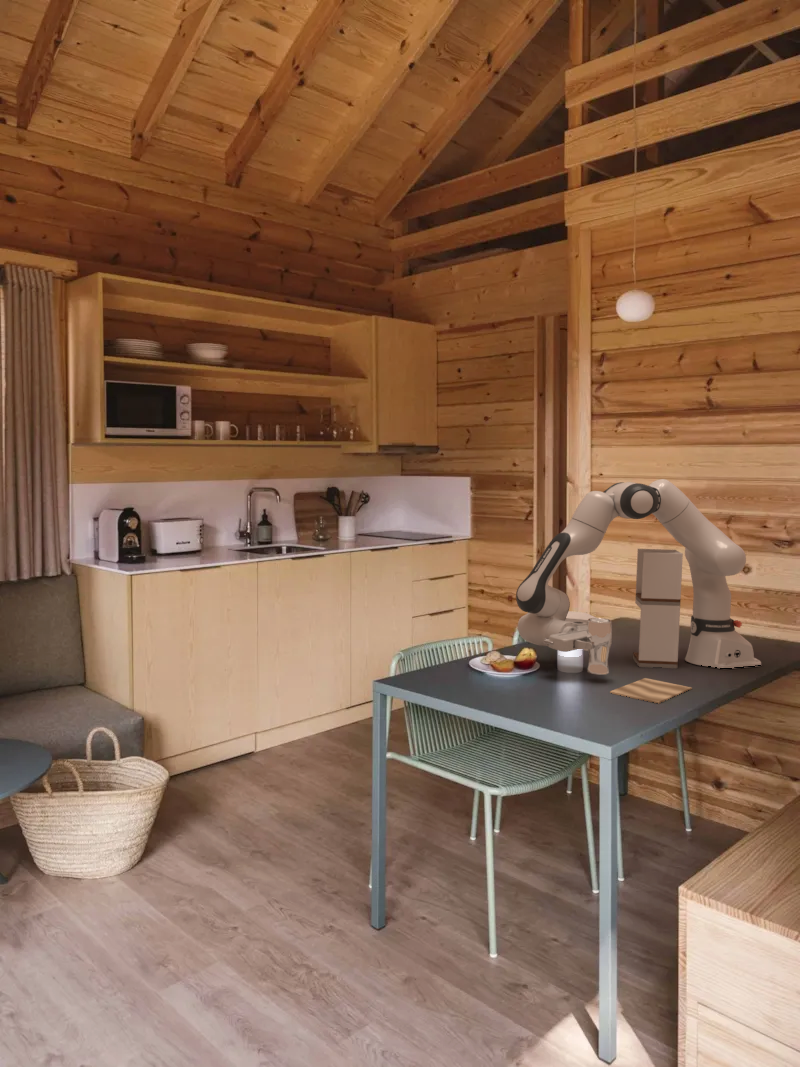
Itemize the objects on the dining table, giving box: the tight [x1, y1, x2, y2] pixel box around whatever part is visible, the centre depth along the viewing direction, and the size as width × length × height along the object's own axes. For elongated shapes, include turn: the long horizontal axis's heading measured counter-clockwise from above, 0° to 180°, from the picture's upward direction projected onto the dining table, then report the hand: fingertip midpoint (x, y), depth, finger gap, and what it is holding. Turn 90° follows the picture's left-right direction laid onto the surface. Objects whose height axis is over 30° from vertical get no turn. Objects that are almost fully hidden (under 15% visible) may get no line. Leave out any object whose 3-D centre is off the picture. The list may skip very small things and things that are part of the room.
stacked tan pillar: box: [632, 548, 684, 669], centre depth 268 cm, size 11×11×35 cm
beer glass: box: [586, 617, 613, 676], centre depth 247 cm, size 7×7×15 cm
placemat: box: [609, 677, 693, 705], centre depth 237 cm, size 20×14×1 cm
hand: (601, 644), depth 246 cm, fingers closed on beer glass, 6 cm apart
